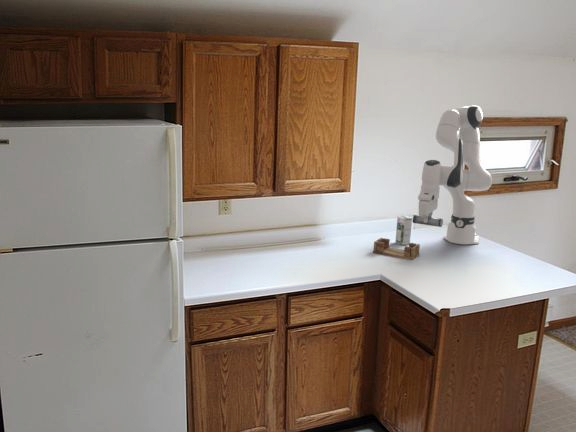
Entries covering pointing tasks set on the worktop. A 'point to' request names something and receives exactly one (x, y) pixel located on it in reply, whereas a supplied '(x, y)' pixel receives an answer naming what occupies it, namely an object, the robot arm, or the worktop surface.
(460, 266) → the worktop surface
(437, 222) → the cylinder
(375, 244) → the cradle
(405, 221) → the syrup box
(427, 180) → the robot arm
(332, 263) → the worktop surface
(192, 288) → the worktop surface
